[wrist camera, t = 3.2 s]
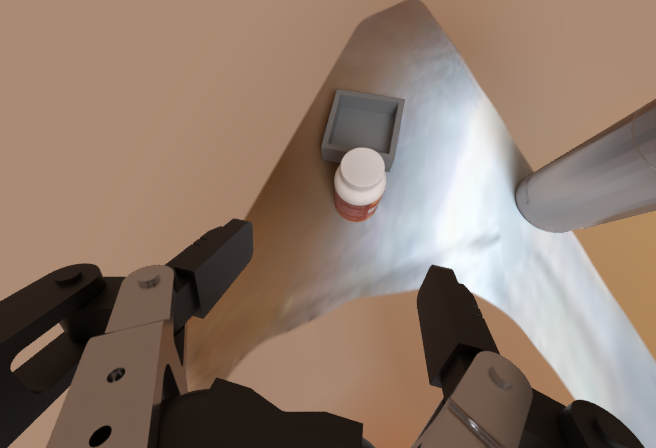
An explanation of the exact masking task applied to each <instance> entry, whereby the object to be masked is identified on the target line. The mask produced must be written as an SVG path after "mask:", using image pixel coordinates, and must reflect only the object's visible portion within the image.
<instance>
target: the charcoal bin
mask: <svg viewBox="0 0 656 448" xmlns="http://www.w3.org/2000/svg"><path fill="white" fill-rule="evenodd" d="M404 101H405V99H400V98H393V97H386V96H380V95H373V94H366V93H359V92H352V91H345V90H339V89H337V90H336V94H335V98H334V101H333V105H332V109H331V112H330V116H329V120H328V123H327V127H326V131H325V134H324V138H323V142H322V145H321V151H322V159H323V160H325V161H331V162H336V163H341V161H342V159H343V157H344V156H345V154H347V153H348V152H349V151H351V150H353V149H355V148H369V149H372V150H374V151H376V152H377V153H378V154H379V155H380V156H381V157H382V159H383V161H384V165H385V171H386V172H389V171H390V169H391V166H392V164H393V161H394V158H395V152H396V146H397V141H398V135H399V130H400V124H401V118H402V113H403V107H404Z"/></svg>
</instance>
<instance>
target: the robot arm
mask: <svg viewBox="0 0 656 448" xmlns="http://www.w3.org/2000/svg"><path fill="white" fill-rule="evenodd" d="M516 202H517V205H518V208H519V210H520V211H521V213H522V215H523V216H524V217H525V218H526V219H527V220H528V221H529V222H530V223H531V224H533V225H534V226H536V227H538V228H539V229H542V230H545V231H548V232H553V233H563V232H568V231H572V230H575V229H579V228H588V227H592V226H596V225H600V224H604V223H608V222H612V221H616V220H620V219H624V218H628V217H632V216H636V215H639V214H643V213H648V212H652V211H656V99H655V100H653V101H651V102H650V103H648V104H646V105H645V106H643V107H642V108H640V109H638V110H637V111H635V112H633V113H632V114H630V115H628V116H627V117H625V118H624V119H622V120H620V121H618V122H617V123H615V124H613V125H612V126H610V127H609V128H607V129H605V130H603V131H602V132H600V133H599V134H597V135H596V136H594V137H592V138H590V139H589V140H587V141H585V142H584V143H582V144H580V145H579V146H577V147H576V148H574V149H572V150H571V151H569V152H567V153H566V154H564V155H562V156H560V157H559V158H557V159H555V160H554V161H552V162H550V163H549V164H547V165H545V166H544V167H542V168H540V169H539V170H537V171H536V172H534V173H532V174H531V175H529V176H527V177H526V178H525V179H523V180H522V181H521V183H520V184H519V186H518V188H517V191H516ZM252 254H253V229H252V223H251V222H248V221H244V220H239V219H232V220H231V221H230V222H229V223H227V224H226V225H225V226H223V227H221V226H220V227H217V228H215V229H213V230H210V231H208V232H207V233H206V234H204V235H203V236H202V237H200V239H198V240H197V241H195V242H194V243H193V245H190V246H189V247H187V248H186V249H185V250H184V251H182V252H181V253H180V254H179V255H177V256H176V257H175V258H173V259H172V260H171V261H169V262H168V263H167V264H166V265H152V266H147V267H143V268H140V269H138V270H136V271H134V272H132V273H131V274H129V275H128V276H127V277H103V276H102V273H101V271H100V269H99V267H98V266H96V265H93V264H75V265H71V266H67V267H64V268H61V269H58V270H56V271H54V272H52V273H49V274H48V275H46V276H44V277H42V278H41V279H39V280H37V281H35V282H34V283H32V284H30V285H28V286H27V287H25V288H23V289H21V290H19V291H18V292H16V293H14V294H12V295H11V296H9V297H7V298H5V299H4V300H2V301H0V448H7V447H8V446H9V445H10V444H11V443H12V442H13V441H14V440H15V439H17V437H18V436H20V435H21V434H22V433H23V432H24V430H26V429H27V428H28V427H29V426H30V425H31V424H32V423H33V422H34V420H36V419H37V418H38V417H39V416H40V415H41V414H42V413H43V412H44V411H45V410H46V409H47V408H48V407H49V406H50V405H51V404H52V403H53V402H54V401H55V400H56V399H57V398H58V397H59V396H60V395H61V394H62V393H63V392H64V391H65V390H66V389H67V388H68V387H69V386H70V388H69V390H68V393H67V396H66V398H65V401H64V403H63V406H62V408H61V411H60V413H59V416H58V419H57V421H56V424H55V427H54V429H53V431H52V434H51V436H50V439H49V442H48V444H47V447H46V448H375V447H374V446H373V445H372V444H371V443H370V442H369V441H367V440H366V439H364V438H363V437H362V432H363V424H362V423H359V422H356V421H353V420H350V419H347V418H344V417H340V416H337V415H334V414H331V413H328V412H285V411H281V410H280V409H279V408H277V407H276V406H274V405H273V404H272V403H270V402H269V401H267V400H266V399H265V398H263V397H262V396H261V395H259V394H258V393H256V392H255V391H254V390H252V389H251V388H248V387H245V386H242V385H239V384H235V383H232V382H229V381H226V380H223V379H220V378H216V379H215V381H214V382H213V384H212V386H211V388H210V389H203V390H196V391H192V392H188V385H187V378H186V359H187V321H188V320H189V319H190V318H191V317H192V316H195V317H199V318H202V319H204V318H205V316H206V315H207V314H208V313H209V311H210V310H211V309H212V308H213V306H214V305H215V304H216V303H217V302H218V300H219V299H220V298H221V297H222V295H223V294H224V293H225V292H226V290H227V289H228V288H229V287H230V285H231V284H232V283H233V282H234V280H235V279H236V278H237V277H238V275H239V274H240V273H241V272H242V271H243V269H244V268H245V267H246V266H247V264H248V263H249V262H250V260H251V257H252ZM417 309H418V315H419V321H420V328H421V334H422V340H423V346H424V352H425V358H426V365H427V371H428V377H429V383H430V385H432V386H436V387H439V388H442V390H443V395H444V398H443V399H442V400H441V402H440V403H439V405H438V406H437V408H436V409H435V411H434V412H433V414H432V416H431V417H430V419H429V420H428V422H427V423H426V425H425V427H424V428H423V430H422V432H421V433H420V434H419V436H418V438H417V439H416V441H415V442H414V444H413V445H412V447H411V448H644V446H643V445H642V444H641V442H640V441H639V440H638V438H637V437H636V436H635V435H634V434H633V433H632V432H631V431H630V430H629V429H628V428H627V427H626V426H625V425H624V424H623V423H622V422H621V421H620V420H619V419H617V418H616V417H615V416H613V415H612V414H611V413H609V412H608V411H606V410H605V409H603V408H601V407H600V406H598V405H596V404H594V403H591V402H589V401H585V400H576V401H574V402H573V403H571V404H570V405H568V406H567V407H566V406H564V405H562V404H561V403H559V402H557V401H555V400H553V399H551V398H550V397H548V396H546V395H544V394H542V393H540V392H538V391H536V390H535V389H533V388H531V386H530V383H529V382H528V380H527V378H526V377H525V375H524V374H523V373H522V372H521V371H520V370H519V368H517V367H516V366H515V365H514V364H513V363H512V362H511V361H509V360H508V359H506V358H504V357H503V356H501V355H500V353H499V351H498V349H497V347H496V344H495V342H494V340H493V338H492V336H491V334H490V331H489V329H488V327H487V324H486V322H485V320H484V318H482V314H481V311H480V309H478V305H477V302H476V300H475V298H474V296H473V294H472V293H471V292H470V291H469V290H468V289H467V288H466V287H465V285H464V284H459V283H458V281H457V279H456V276H455V274H454V271H453V270H452V269H449V268H445V267H440V266H436V265H432V266H431V267H430V268H429V270H428V272H427V274H426V277H425V279H424V281H423V283H422V285H421V287H420V290H419V293H418V296H417ZM57 323H59V324H60V325H61V327H62V328H63V330H64V332H63V333H62V334H61V335H59V336H58V337H57V338H56V339H54V340H53V341H52V342H50V343H49V344H48V345H47V346H45V347H44V348H43V349H42V350H40V351H39V352H38V353H37V354H35V355H34V356H33V357H32V358H30V359H29V360H28V361H27V362H25V363H24V364H23V365H21V366H20V367H19V368H18V369H16V370H15V371H14V372H12V371H11V369H10V366H11V363H12V361H13V359H14V358H15V356H16V355H17V354H18V353H19V352H20V351H21V350H23V349H24V348H25V347H27V346H28V345H29V344H31V343H32V342H33V341H35V340H36V339H37V338H39V337H40V336H41V335H43V334H44V333H45V332H47V331H48V330H50V329H51V328H52V327H53V326H55V325H56V324H57Z"/></svg>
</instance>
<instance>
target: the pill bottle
mask: <svg viewBox="0 0 656 448" xmlns="http://www.w3.org/2000/svg"><path fill="white" fill-rule="evenodd" d="M384 171H385V165H384V161H383V159H382V157H381V156H380V155H379V154H378V153H377V152H376V151H374V150H372V149H369V148H355V149H353V150H351V151H349V152H348V153H347V154H345V156H344V157H343V159H342V161H341V164H340V166H339V167H338V169H337V171H336V173H335V177H334V188H335V205H336V209H337V211H338V213H339V215H340V216H341V217H342V218H344V219H345V220H347V221H349V222H354V223H358V222H363V221H366V220H368V219H369V218H370V217H371V216H372V215H373V214H374V212H375V211H376V209H377V206H378V204H379V202H380V199H381V197H382V195H383V192H384V190H385V187H386V175H385V172H384Z"/></svg>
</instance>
